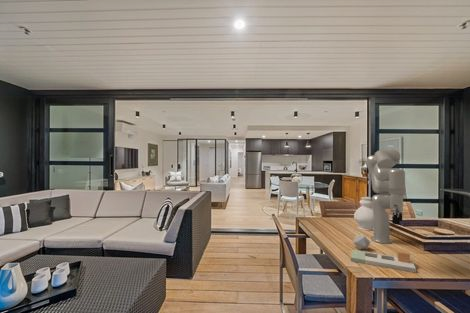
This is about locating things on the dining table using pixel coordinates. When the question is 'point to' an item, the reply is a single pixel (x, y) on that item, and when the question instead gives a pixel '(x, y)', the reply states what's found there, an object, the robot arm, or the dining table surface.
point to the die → (361, 242)
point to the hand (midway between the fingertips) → (397, 222)
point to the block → (403, 256)
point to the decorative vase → (364, 214)
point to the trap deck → (381, 260)
